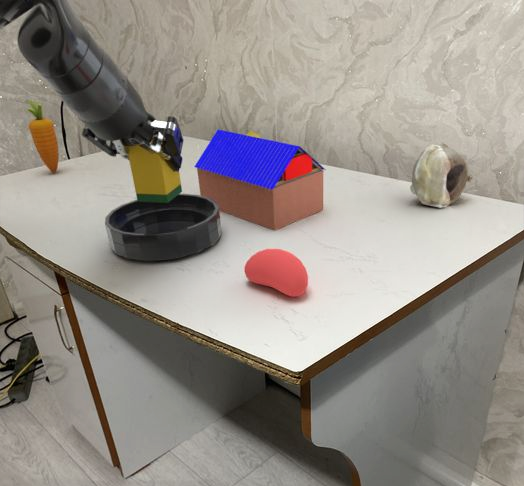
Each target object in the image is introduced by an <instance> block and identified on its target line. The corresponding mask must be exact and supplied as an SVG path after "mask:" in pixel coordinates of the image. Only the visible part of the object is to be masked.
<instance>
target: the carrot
mask: <svg viewBox="0 0 524 486" xmlns="http://www.w3.org/2000/svg"><path fill="white" fill-rule="evenodd" d="M28 103H29V105H30V106H31V107H32V108H31V107H26V111H27V112H29V113H31V114H32V116H33V117H35V118H34V119H32V120H31V121H30V122H29V123H28V129H29V133H30V135H31V138H32V141H33V144H34V147H35V149H36V151H37V153H38V155H39V157H40V159H41V160H42V162H43V164H44V165H45V166H46V168H48V170H49V171H50V172H51V173H53V172H55V173H57V171H58V167H59V160H60V159H59V158H60V155H59V154H60V153H59V144H58V138H57V134H56V130H55V126H54V122H53V121H52V120H51V119H50V118H47V117H43V107H42V103H40V102H37V103H36V104H37V106H36V104H35V102H34V101H33V100H31V99H30V100H28Z"/></svg>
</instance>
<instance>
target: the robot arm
mask: <svg viewBox="0 0 524 486" xmlns="http://www.w3.org/2000/svg"><path fill="white" fill-rule="evenodd" d="M26 13H27V14H26ZM25 14H26V15H25ZM23 15H25V17H24V18H23V20H22V21H21V24H20V25H19V28H18V30H17V33H16V34H17V35H16V43H17V47H18V50H19V53H20V54H21V56H22V57H23V59H24V60H25V61H26V62H27V63H28V65H29V66H30V67H31V68H32V69H33V70H34V72H36V73H37V74H38V75H39V76H40V77H41V78H42V79H43V80H44V81H45V82H46V83H47V84H48V85H49V86H50V87H51V88H52V90H53V91H55V93H56V95H57V96H58V98H59V99H60V100H61V101H62V103H64V105H65V106H66V107H67V108H68V109H69V110H70V111H71V112H72V113H73V114H74V115H75V116H76V117H77V118H78V119H79V120H80V122H82V123H83V128H82V132H81V136H82V138H84V139H86V140H88V141H89V142H90V143H92V144H93V145H94V146H96V147H97V148H98V149H100V150H101V151H103V152H104V153H105V154H107V155H108V156H110V157H114V158H116V157H117V155H120V157H121V158H122V159H124V160H128V161H129V156H128V152H129V150H128V146H136V145H137V146H140V147H142V148H143V149H145V150H146V151H148V152H149V153H150V154H155V153H156V154H158V155H159V156H161V157H162V158H163V159H164V160H165V162H166V163H167V164H168V165H169V166H170V168H171V169H172V170H173V171H174V172H178V171H179V172H180V169H181V168H182V163H183V157H182V150H183V145H184V141H185V140H184V136H183V133H182V131H181V127H180V125H179V122H178V119H177V118H176V117H175V116H168V117H167V120H166V121H163V120H157V119H156V117H155V116H154V115H153V114H150V112H148V111H147V110H146V108H145V103H144V101H143V99H142V96H141V94H140V93H139V92H138V91H137V89H136V88H135V86H134V85H133V84H132V83H131V81H130V80H129V79H128V78H127V76H126V75H125V73H124V72H123V71H122V69H121V68H120V66H118V64H117V63H116V61H115V60H114V59H113V58H112V56H111V54H109V53H108V52H107V51H106V50H105V49H104V48H103V47H102V46H101V45H100V44H99V43H98V41H97V40H96V39H95V37H94V36H93V35H92V33H91V32H90V31H89V29H88V28H87V27H86V25H85V24H84V23H83V21H82V20H81V18H80V17H79V15H78V14H77V12H76V11H75V9H74V7H73V6H72V4H71V1H70V0H0V31H1V30H2V29H4V28H5V27H7V26H9V25H10V24H11V23H12V22H15V21H16V20H17V19H19V18H20V17H21V16H23ZM107 142H109V145H108V143H107ZM161 142H162V143H163V144H164V149H162V148H161ZM150 143H151V144H150Z"/></svg>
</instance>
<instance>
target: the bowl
mask: <svg viewBox="0 0 524 486" xmlns="http://www.w3.org/2000/svg"><path fill="white" fill-rule="evenodd" d="M221 222H222V221H221V211H220V210H219V207H218V205H217V202H215V201H213V200H212V199H210V198H207V197H203V196H201V195H199V194H190V193H180V194H179V195H177V196H176V197H175V198H173V199H172V200H171V201H170V202H168V203H159V202H138V200H137V199H134V200H130V201H129V202H125V203H123V204H120V205H119V206H117V207H115V208H114V209H112V210H110V212H109V213H108V214H107V215H106V216H105V217H104V226H105V230H106V234H107V238H108V242H109V247H110V249H111V251H113V252H114V253H115V254H116V255H118V256H121V257H123V258H125V259H129V260H137V261H141V262H143V261H144V262H145V261H146V262H147V261H149V262H150V261H151V262H154V261H157V262H158V261H168V260H173V259H179V258H184V257H187V256H190V255H193V254H196V253H199V252H202V251H203V250H205V249H207V248H209V247H211V246H213V245H214V244H215V243H216V242H217V241H219V239H220V237H221V235H222V231H223V230H222V223H221Z"/></svg>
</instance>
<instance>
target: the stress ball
mask: <svg viewBox="0 0 524 486" xmlns="http://www.w3.org/2000/svg"><path fill="white" fill-rule="evenodd" d="M244 274H245V277H246V278H247V279H248V281H250V283H251V282H252V283H254V284H257V285H261V286H266V287H271V288H273V289H275V290H277V291H278V292H280V293H282V294H284V295H286V296H288V297H291V298H295V297H299V296H302V295H303V294H304V293H306V291H307V289H308V286H309V275H308V272H307V268H306V267H305V265H304V264H303V262H302V261H301V260H300V259H299V258H298V256H296V255H295V254H293V253H291V252H289V251H288V250H284V249H281V248H266V249H263V250H259V251H257V252H256V253H254V254H253V255H251V256H250V258H249V259H248V260H246V263H245V265H244Z"/></svg>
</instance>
